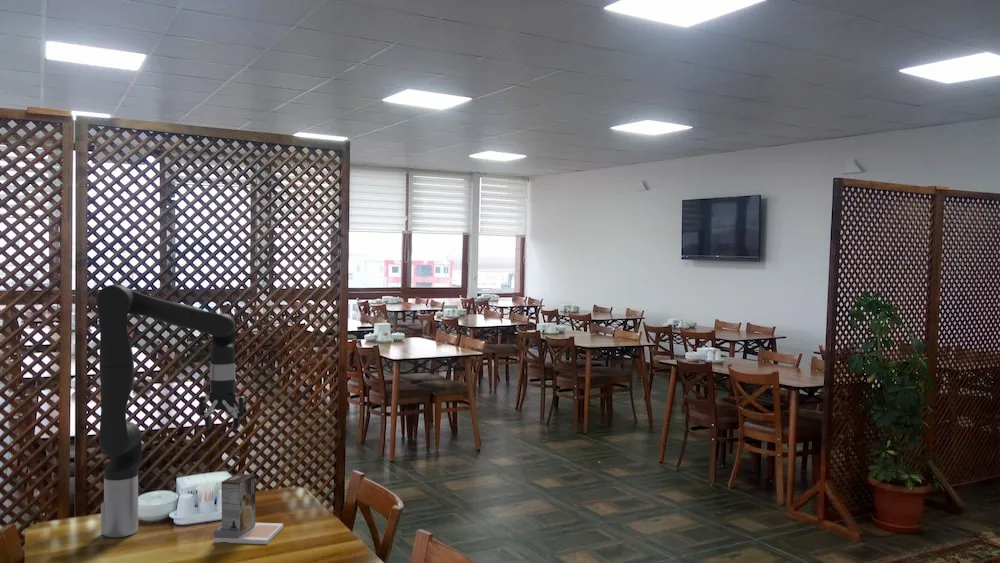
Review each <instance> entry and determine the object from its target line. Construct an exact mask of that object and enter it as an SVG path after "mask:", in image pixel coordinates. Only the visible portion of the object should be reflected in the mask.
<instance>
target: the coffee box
mask: <svg viewBox="0 0 1000 563" xmlns="http://www.w3.org/2000/svg"><path fill="white" fill-rule="evenodd" d="M255 523H256V474H250V473H249V474H248V473H247V474H245V473H236V474H234V475H232V476H230V477H229V478H226V479H224V480H223V481H221V525H222V530H239V536H241V535H242V534H244V533H245V532H247V531H248V530H250V529H251V528H252V527H254V526H255Z"/></svg>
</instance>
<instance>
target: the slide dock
mask: <svg viewBox="0 0 1000 563" xmlns="http://www.w3.org/2000/svg"><path fill="white" fill-rule="evenodd" d="M283 528H284V523H280V522H279V523H278V522H274V523H273V522H255V526H254V527H252V528H251V529H250V530H248V531H247V532H245V533H244V534H242V535H241V536H239V530H222V524H221V525H220V526H218V527H217V528H216V529H215V530H214V537H213V543H220V542H228V543H229V544H250V545H252V544H253V545H254V544H255V545H268V544H269V543H270V542H271V541H272V540H273V539H274V538H275V537H276V535H277V534H278V533H279V532H281V530H283ZM273 537H274V538H273ZM228 543H227V544H228Z"/></svg>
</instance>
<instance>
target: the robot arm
mask: <svg viewBox="0 0 1000 563" xmlns="http://www.w3.org/2000/svg"><path fill="white" fill-rule="evenodd" d="M95 304H96V310H97V317H98V323H99V324H98V325H99V334H100V338H99V339H100V340H99V381H100V382H99V383H100V420H99V421H100V422H99V430H98V431H99V432H98V434H99V435H98V441H99V442H98V444H99V448H100V450H101V452H102V453H103V454H104V455H105V456H106V457H109V458H110V459H109V462H108V463H107V465H106V466H105V468H104V469H103V502H102V503H101V504H100V536H105V537H107V538H122V537H127V536H131V535H133V534H136V533H138V531H139V469H140V466H141V461H142V444H143V443H142V442H143V441H142V440H143V439H142V438H143V436H142V432H141V429H140V428H139V426H138V425H137V424H136V423H135V422H132V421H127V407H128V402H129V399H130V397H131V392H132V389H133V386H134V382H135V360H134V354H133V349H132V345H131V342H130V338H129V333H128V332H129V331H128V319H129V318H128V317H129V315H135V316H142V317H147V318H150V319H154V320H157V321H160V322H161V323H166V324H168V325H171V326H175V327H179V328H183V329H187V330H192V331H198V332H200V333H203V334H207V335H210V336H211V338H212V340H211V341H212V345H211V349H210V350H211V351H210V368H209V395H207V394H203V395H201V396H200V397H199V403H198V415H199V416H202V417H204V426H205V428H206V430H210V429H212V426H213V425H212V424H213V423H212V422H213V420H212V419H213V416H212V415H213V413H214V412H215V411H228V412H229V413H230V414H231V415H232V416H233V422H232V424H233V425H232V429H233V431H237V430H238V429H239V428H240V425H241V424H240V423H241V417H244V416H245V415H247V401H246V399H247V398H246V396H245V395H242V396H237V395H236V376H237V375H236V365H235V364H236V363H235V354H236V351H235V340H236V339H235V337H236V321H235V319H234V317H233V316H232V315H231V314H228V313H216V312H212V311H208V310H204V309H202V308H200V307H196V306H192V305H189V304H184V303H179V302H174V301H170V300H164V299H159V298H156V297H154V296H151V295H146V294H143V293H141V292H138V291H136V290H133V289H131V288H128V287H127V286H125V285H123V284H110V285H105V286H103V287H102V289H100V290H99V292H98V293H97V295H96V302H95ZM236 402H237V404H238V407H237V406H236V405H235V403H236ZM207 403H210V404H211V405H210V406H209V407H208V408H207Z"/></svg>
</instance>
